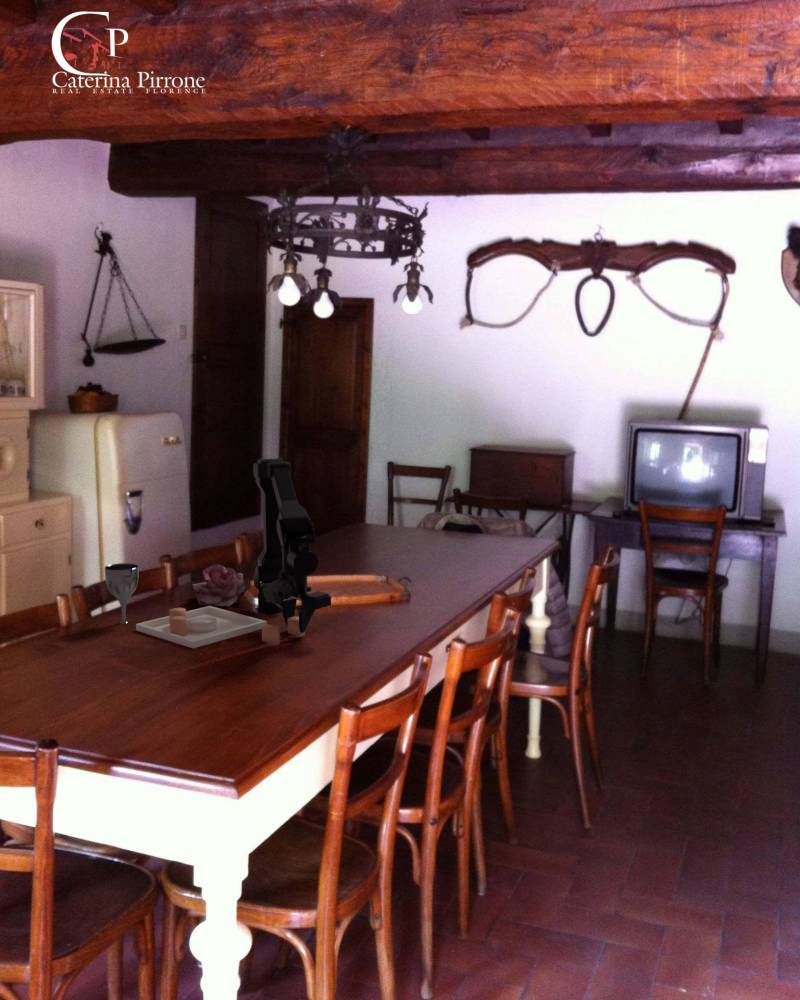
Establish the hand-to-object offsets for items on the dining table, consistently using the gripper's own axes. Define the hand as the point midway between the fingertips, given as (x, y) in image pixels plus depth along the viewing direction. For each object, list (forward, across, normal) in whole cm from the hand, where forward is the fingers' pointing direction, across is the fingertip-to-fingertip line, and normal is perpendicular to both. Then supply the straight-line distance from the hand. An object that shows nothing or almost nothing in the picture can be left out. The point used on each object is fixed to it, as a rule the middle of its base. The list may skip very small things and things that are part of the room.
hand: (296, 630), depth 238 cm
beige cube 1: (+1, 0, 0) cm, 1 cm away
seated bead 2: (0, -19, -20) cm, 27 cm away
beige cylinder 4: (0, -25, -15) cm, 30 cm away
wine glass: (+2, -38, -22) cm, 44 cm away
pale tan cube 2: (+1, 0, -8) cm, 8 cm away
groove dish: (+1, -19, -13) cm, 23 cm away
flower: (+2, -37, +7) cm, 38 cm away
